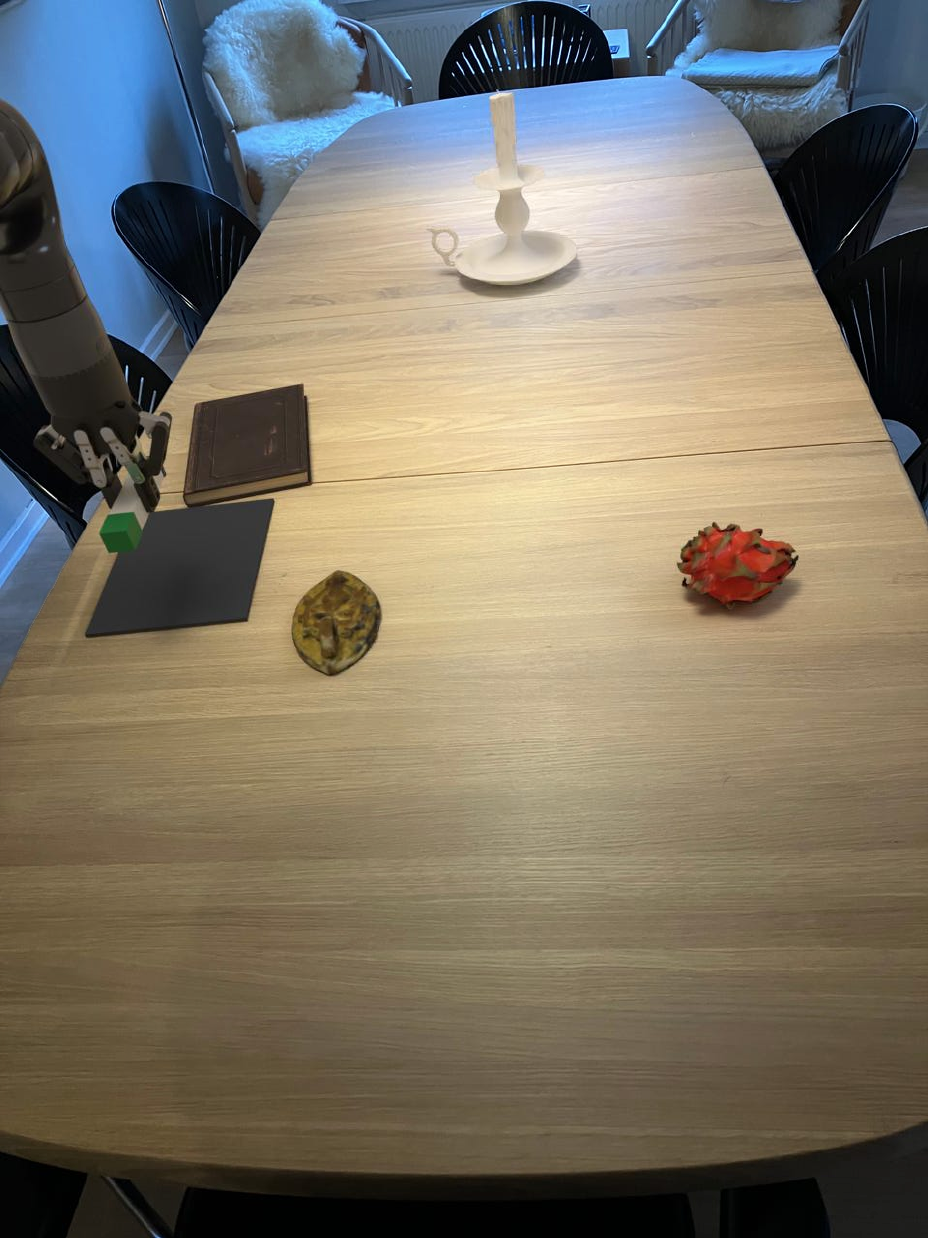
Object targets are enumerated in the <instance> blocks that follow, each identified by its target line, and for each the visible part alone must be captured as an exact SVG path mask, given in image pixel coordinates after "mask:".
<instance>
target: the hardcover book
mask: <svg viewBox="0 0 928 1238" xmlns="http://www.w3.org/2000/svg"><path fill="white" fill-rule="evenodd" d="M192 416H193V417H192V423H191V429H190V438H189V446H188V453H187V462H186V468H185V476H184V484H183V490H182V491H183V493H182V500H183V502H184V504H185V506H186V507H188V508H190V507H199V506H208V505H213V504H218V503H222V502H227V501H232V500H238V499H243V498H249V497H254V496H259V495H264V494H268V493H274V492H275V493H276V492H279V491H285V490H290V489H295V488H300V487H306V486H311V485H312V469H311V467H312V466H311V450H310V448H311V447H310V430H309V411H308V396H307V394H306V395H305V385H304V382H302V383H297V384H292V385H287V386H281V387H275V388H271V389H265V390H264V389H263V390H259V391H255V392H253V391H252V392H248V393H243V394H239V395H232V396H228V397H222V398H216V399H212V400H206V401H201V402H197V403H195V405H194V408H193V415H192Z"/></svg>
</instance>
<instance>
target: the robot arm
mask: <svg viewBox="0 0 928 1238" xmlns="http://www.w3.org/2000/svg"><path fill="white" fill-rule="evenodd" d="M0 310H1V312H2V313H3V316H4V318H5V321H6V323H7V325H8V329H9V331H10V335H11V339H12V340H13V344H14V346H15V348H16V350H17V352H18V355H19V358H20V360H21V361H22V363H23V364H24V367H25V368H26V370H27V372H28V375H29V376H30V378H31V380H32V382H33V385H34V387H35V389H36V391H37V394H38V395H39V397H40V399H41V401H42V403H43V405H44V407H45V409H46V410H47V412H48V413H49V414H50V424H49V425H47V424H46V425H43V426H42V427H41V428H40V430H39V431H38V432H37V434H36V436H35V438H34V439H33V441H32V444H33V446H34V448H36V450H38V451H39V452H40V453H41V454H43V455H44V456H45V457H46V458H47V459H48V460H50V461H51V462H52V463H53V464H54V465H55V466H57V467H58V468H59V469H60V470H61V471H62V472H63V473H65V474H66V475H67V476H68V477H69V478H70V479H71V480H72V481H73V482H75V483H76V484H78V485H84V484H86V483H91V484H93V485H95V486H96V487H97V488H99V490H100V492H101V494H102V496H103V498H104V500H105V503H106V505H107V507H108V508H109V510H111V509H112V507H113V505H114V503H115V501H116V499H117V497H118V495H119V492H120V490H121V488H122V486H123V483H122V482H121V479H120V477H119V475H118V474H116V473H115V474H114V473H113V471H114V468H113V465H112V462H111V458H110V455H109V454H112V455H114V456H115V458H116V460H117V461H118V463H119V464H120V466H121V467H124V468H125V470H126V471H127V474H128V473H129V475H130V476H131V478H132V480H133V481H134V484H133V485H134V487H135V490H136V492H137V494H138V496H139V497H140V499H141V501H142V504H143V506H144V508H145V510H146V512H147V513H150V512H155V511H156V510H157V509H156V508H157V507H158V505H159V503H160V500H161V492H160V489H159V490H158V487H157V485H156V482H155V480H154V478H153V476H158V475H159V474H160V471H161V469H162V467H164V464H165V462H166V458H167V453H168V446H169V441H170V435H171V429H172V423H173V422H172V421H173V416H172V414H171V413H170V412H168V411H162V412H160V413H159V415H157V414H154V413H150V412H147V411H145V410H144V411H143V407H142V406H141V404H139V403H138V402H137V400H135V398H134V397H133V396H132V394H131V391H130V388H129V385H128V381H127V379H126V377H125V376H126V375H125V374H124V371H123V368H122V367H121V364H120V362H119V359H118V358H117V355H116V352H115V350H114V348H113V347H114V346H113V345H112V343H111V340H110V338H109V336H108V333H107V331H106V328H105V326H104V322H103V321H102V318H101V317H100V314H99V312H98V311H97V309H96V307H95V306H94V303H93V302H92V300H91V298H90V297H89V295H88V293H87V289H86V287H85V285H84V282H83V280H82V278H81V275H80V273H79V270H78V267H77V266H76V263H75V260H74V259H73V256H72V254H71V252H70V250H69V248H68V246H67V243H66V240H65V234H64V230H63V222H62V217H61V211H60V207H59V203H58V198H57V193H56V189H55V183H54V179H53V176H52V172H51V168H50V164H49V161H48V158H47V155H46V153H45V149H44V147H43V145H42V143H41V141H40V139H39V137H38V135H37V133H36V131H35V130H34V129H33V127H32V125H31V124H30V122H29V121H28V120H27V118H26V117H25V116H24V114H22V113H21V112H20V110H18V109H17V108H16V107H15V106H14V105H12V104H11V103H9V102H8V101H6V100H5V99H3V98H0ZM140 426H142V427H143V428H144V433H145V435H146V437H147V439H149V440H151V442H150V447H149V454H148V456H149V458H148V459H147V457H146V456H147V455H146V454H145V452H144V450H143V445H142V442H141V440H140V438H139V436H138V434H137V433H138V430H139V427H140ZM73 445H74V446H73ZM77 448H78V449H79V450H78V449H77Z"/></svg>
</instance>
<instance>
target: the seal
mask: <svg viewBox="0 0 928 1238" xmlns="http://www.w3.org/2000/svg"><path fill="white" fill-rule="evenodd" d="M381 612H382V611H381V605H380V601H379V598H378V596H377V594H376V593H375V592H374V590H373V589H372V588H371V587H370V586H369V585H368V584H367V583H366V582H364V581H363V580H362V579H360V578H359V577H358V576H356V575H354V574H353V573H351V572H349V571H346V570H345V571H344V570H339V569H338V570H335V571H333V572H332V573H330V574H329V575H328V576H326V577H325V578H324V579H322V580H321V581H320V582H318V583H317V584H315V585H313V587H311V588H310V589H308V591H307V592H305V594H304V595H303V596H302V597H301V598H300V599H299V601H298V602H297V604H296V606H295V609H294V612H293V615H292V623H291V639H292V643H293V645H294V647H295V650H296V652H297V654H298V656H299V657H300V658H301V659H302V660H303V661H305V663H306V664H307V665H309V666H310V667H312V668H314V669H315V670H318V671H320V672H322V673H324V674H327V675H334V674H337V673H339V672H342V671H344V670H345V669H347V668H348V667H350V666H352V665H354V663H356V662H357V661H359V660H360V659H361V658H362V657H364V655H365V654H366V652H367V651H368V650H369V649H370V648H371V646H372V645H373V643H374V641H375V638H376V636H377V632H378V625H379V621H380V617H381Z"/></svg>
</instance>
